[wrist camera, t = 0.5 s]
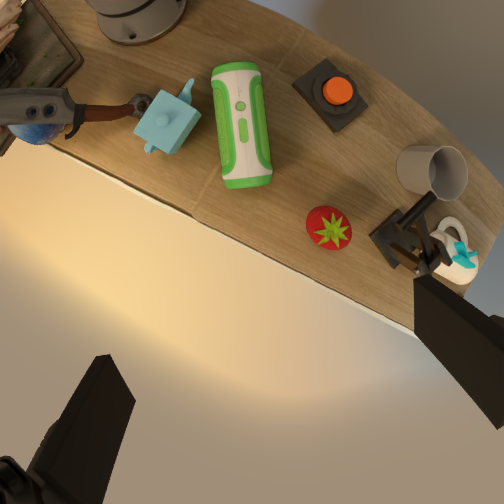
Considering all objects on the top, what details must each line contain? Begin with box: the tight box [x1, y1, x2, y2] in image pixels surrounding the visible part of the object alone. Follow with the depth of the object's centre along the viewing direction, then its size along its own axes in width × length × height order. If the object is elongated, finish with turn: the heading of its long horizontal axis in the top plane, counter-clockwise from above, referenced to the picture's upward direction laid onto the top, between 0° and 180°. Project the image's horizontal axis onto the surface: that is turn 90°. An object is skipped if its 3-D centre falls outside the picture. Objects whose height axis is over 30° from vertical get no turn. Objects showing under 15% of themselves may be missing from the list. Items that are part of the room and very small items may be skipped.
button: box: [323, 77, 353, 105], centre depth 40 cm, size 4×4×2 cm
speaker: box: [211, 62, 273, 188], centre depth 42 cm, size 18×7×8 cm, turn 7°
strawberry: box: [306, 206, 352, 250], centre depth 46 cm, size 6×8×10 cm
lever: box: [395, 190, 441, 273], centre depth 37 cm, size 14×6×2 cm, turn 42°
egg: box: [7, 106, 76, 145], centre depth 39 cm, size 9×9×15 cm
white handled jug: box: [420, 217, 479, 285], centre depth 49 cm, size 12×9×12 cm
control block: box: [292, 58, 368, 133], centre depth 43 cm, size 10×7×4 cm
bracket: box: [369, 209, 453, 277], centre depth 46 cm, size 8×7×14 cm
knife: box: [0, 87, 152, 140], centre depth 36 cm, size 9×2×30 cm
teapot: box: [133, 78, 202, 155], centre depth 41 cm, size 12×6×8 cm, turn 146°
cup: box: [396, 145, 468, 201], centre depth 44 cm, size 8×8×10 cm
